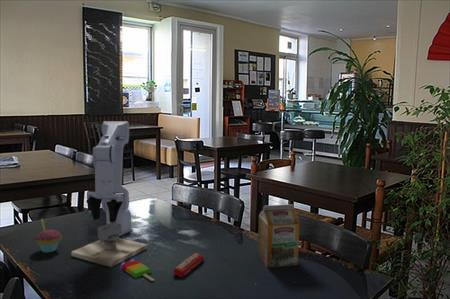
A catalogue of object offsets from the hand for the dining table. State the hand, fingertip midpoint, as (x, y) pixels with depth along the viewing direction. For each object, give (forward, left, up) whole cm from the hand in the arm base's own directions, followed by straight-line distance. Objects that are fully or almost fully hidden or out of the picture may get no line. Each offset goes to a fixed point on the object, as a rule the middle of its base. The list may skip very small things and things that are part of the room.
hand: (104, 220), depth 141 cm
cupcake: (+7, -20, -12) cm, 24 cm away
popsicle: (+6, +20, -13) cm, 25 cm away
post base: (-2, 0, -12) cm, 12 cm away
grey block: (-2, 0, -7) cm, 7 cm away
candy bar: (-5, +31, -13) cm, 34 cm away
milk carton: (-25, +53, -12) cm, 60 cm away
